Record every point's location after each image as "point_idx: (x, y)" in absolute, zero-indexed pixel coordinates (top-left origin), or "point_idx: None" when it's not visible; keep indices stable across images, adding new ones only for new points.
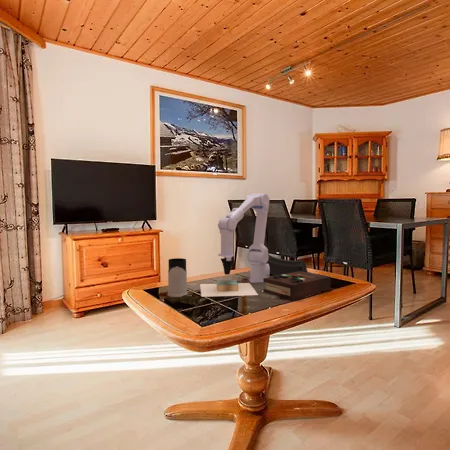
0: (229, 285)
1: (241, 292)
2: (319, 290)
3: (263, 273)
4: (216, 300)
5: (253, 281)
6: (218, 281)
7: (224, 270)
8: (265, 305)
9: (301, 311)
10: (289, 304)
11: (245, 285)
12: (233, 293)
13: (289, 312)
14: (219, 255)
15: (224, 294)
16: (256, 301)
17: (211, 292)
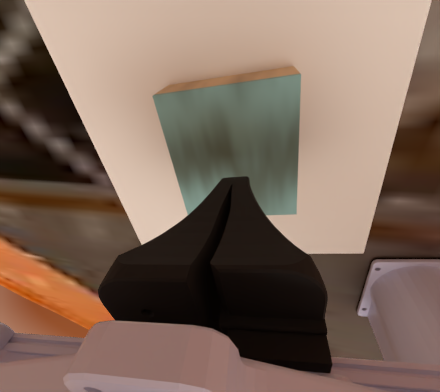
0: (177, 170)
1: (170, 206)
2: None
3: (387, 339)
4: (10, 84)
5: (383, 272)
6: (265, 94)
7: (207, 196)
8: (48, 251)
9: (43, 301)
10: (86, 296)
11: (310, 233)
12: (145, 172)
13: (22, 283)
14: (84, 350)
15: (113, 127)
16: (78, 237)
17: (134, 35)
